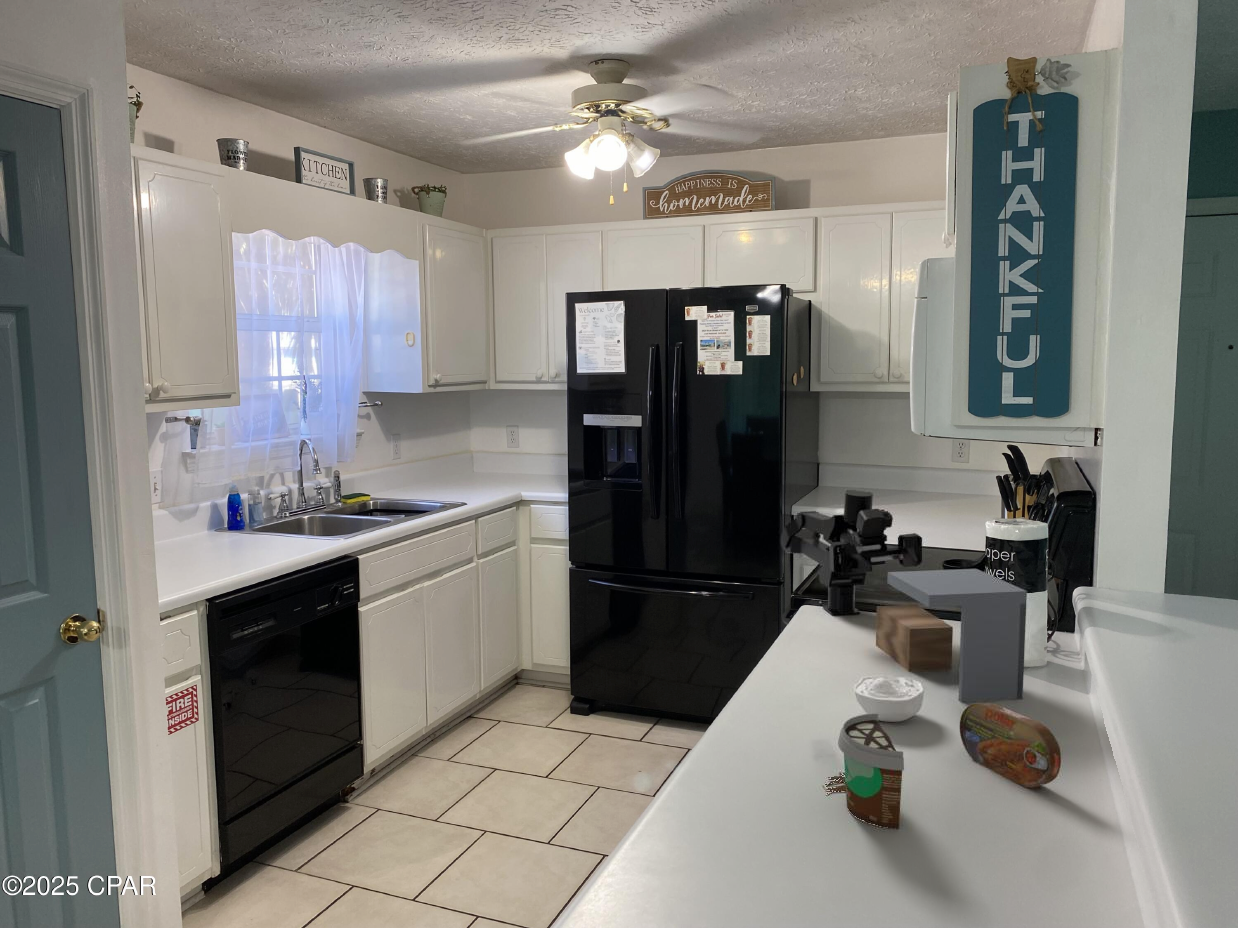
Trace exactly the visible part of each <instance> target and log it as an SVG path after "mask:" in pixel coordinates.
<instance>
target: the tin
mask: <svg viewBox="0 0 1238 928" xmlns="http://www.w3.org/2000/svg"><path fill="white" fill-rule="evenodd" d="M959 735H960V739H961V742H962V745H963V747H964V749H965V751H966V753H967V754H968V755H969V756H970V758H971V759H972V760H973V761H974V762H976V763H977V764H979V765H981V766H983V767H984V768H986V769H989V770H991V771H993V772H994V773H996V774H999V775H1000V776H1002V777H1004V778H1006V779H1008V780H1010V781H1012V782H1014V783H1016V784H1018V785H1020V786H1022V787H1025V788H1031V789H1032V788H1037V787H1039V786H1043V785H1047V784H1049V783H1052V782H1053V781H1054V780H1056V779H1057V777H1058V775H1059V774H1060V773H1059V772H1060V770H1061V762H1062V760H1061V759H1062V758H1061V757H1062V755H1061V748H1060V745H1059V743H1058V741H1057V739H1056V737H1055V735H1054V733H1052V732H1051V730H1050V728H1048V727H1046V725H1044V724H1043V723H1041V722H1039V721H1037V720H1035V719H1033V718H1030V717H1028V716H1026V715H1023V714H1021V713H1018V712H1016V711H1013V710H1011V709H1008V708H1006V707H1003V706H1001V705H999V704H997V703H992V702H983V703H980V702H978V703H977V702H975V703H972V704H970V705H968V706H967V707H965V708H964V710H963V712H962V713H961V715H960V719H959Z"/></svg>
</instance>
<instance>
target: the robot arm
mask: <svg viewBox="0 0 1238 928" xmlns="http://www.w3.org/2000/svg"><path fill="white" fill-rule="evenodd" d="M873 503H874V493H873V492H871V491H864V490H863V491H861V490H857V489H847V490H846V491H845V492H844V505H843V514H833V515H832V516H830V515H829V516H828V515H826V514H822V513H820V512H819V511H816V510H814V511H813V510H810V511H800V512H797V514H796V515H795V518H794V519H793V520H791V521H790V522H788V524H786V525H785V526H784V528H783V530H782V533H781V535H780V546H781V547H782V548H783V550H784V551H785V552H786V553H787V554H802V555H804V556H805V557H807V558H809V559H811V560H812V561H814V562H815V563H817V564H819V565H820V566H822V567H821V569H820V570H819V572H818V577H819V578H818V580H819V583H820V584H822V585H824V586H825V587H827V592H828V593H827V595H828V597H827V598H828V599H827V604H823V605H822V608H823V609H824V610H825V611H827V612H828V613H829V614H830V615H833V616H840V615H842V616H845V615H860V614H861V611H860V610H859V609H858V608H856V607H855V606H856V605H855V603H856V601H855V599H856V598H855V596H856V595H855V593H856V586H864V585H865V581H866V577H867V573H872V572H873V566H878V565H886V561H893V560H898V563H899V564H900V565H901V566H903V568H912V567H918V566H920V565H921V564H922V563H923V537H921V536H920V535H919V534H918V533H916V532H913V533H912V532H911V533H906V534H899V535H898V537H897V546H893V547H888V545H887V544H886V542H888V535H887V534H886V533H885V531H886V530H887V529H888V528H892V526H893V520H894V519H893V518H894V517H893V514H892V513H890V512H889V511H888V510H885V509H880V508H873ZM821 535H822V539H823V541H821V540H820V539H821ZM824 541H825V542H826V543H825V542H824Z"/></svg>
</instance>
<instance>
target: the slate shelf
mask: <svg viewBox="0 0 1238 928" xmlns="http://www.w3.org/2000/svg"><path fill="white" fill-rule="evenodd" d="M886 583H887V584H888V585H889V586H891V587H893V588H895V589H896V590H898V591H900V592H902V593H903V594H905V595H907V596H909V597H910V598H912V599H914V600H916V601H917V602H918V603H921V604H922V605H924V606H926V607H927V608H946V607H948V608H949V607H952V608H953V607H960V609H961V610H960V613H961V615H960V636H959V638H960V642H959V643H960V644H959V673H958V674H959V675H958V701H959V702H960V703H969V702H970V703H972V702H975V703H976V702H987V701H988V702H989V701H993V702H994V701H1006V700H1009V701H1010V700H1023V697H1024V696H1023V695H1024V673H1025V670H1024V669H1025V650H1026V649H1025V648H1026V627H1027V626H1026V622H1027V598H1028V597H1027V595H1028V591H1027V590H1025V589H1023V588H1020V587H1018V586H1016V585H1014V584H1012V583H1010V582H1007V581H1005V580H1003V579H1000V578H998V577H996V576H993V575H991V574H989V573H987V572H985V571H982V570H980V569H978V568H962V569H936V570H934V569H933V570H912V571H911V570H909V571H907V570H906V571H887V581H886Z"/></svg>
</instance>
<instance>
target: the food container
mask: <svg viewBox="0 0 1238 928" xmlns="http://www.w3.org/2000/svg"><path fill="white" fill-rule="evenodd" d="M837 745H838V748H839V750H840V751H841V752H842V753H843V762H844V763H843V764H844V773H845V784H846V792H845V798H846V808H848V809H849V810H848V809H847V810H848V812H849V811H850V812H851V813H852V814H853V815H854V816H856V817H857V818H859V819H861V820H864V821H865V822H867V823H866V824H868V823H871V824H875V825H878V826H881V827H880V828H883V827H888V828H887V829H890V828H893V829H894V830H896V829H897V830H899V829H900V818H901V817H900V815H901V801H902V800H901V797H902V782H903V771H905V760H904V759H905V758H904V751H902V750H897V749H896V748H895V746H894V745H893V742H892V740H891V738H890V736H889V735H888V733H887V732H886V731H885V730H884V729H883V728H882V726H881V725H880V723H879V720H878V714H867V713H864V714H859V715H856V716H854V717H851V718H849V719H847V720H846V721H845V722H844V723H843V725H842V727H841V730H840V733H839V737H838V740H837ZM845 784H844V785H845ZM850 812H849V813H850ZM851 813H850V814H851ZM852 814H851V815H852ZM853 815H852V816H853ZM854 816H853V817H854ZM856 817H855V818H856ZM857 818H856V819H857ZM859 819H858V820H859ZM861 820H860V821H861ZM865 822H864V823H865ZM878 826H877V827H878ZM895 828H896V829H895Z"/></svg>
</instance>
